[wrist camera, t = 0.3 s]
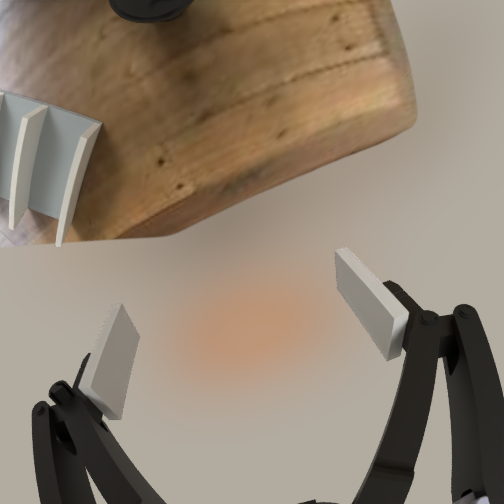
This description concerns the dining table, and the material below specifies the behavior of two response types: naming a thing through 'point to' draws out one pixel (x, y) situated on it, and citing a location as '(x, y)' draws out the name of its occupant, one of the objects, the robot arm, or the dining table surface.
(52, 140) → the slot rack
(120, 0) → the drinking cup
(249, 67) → the dining table surface
